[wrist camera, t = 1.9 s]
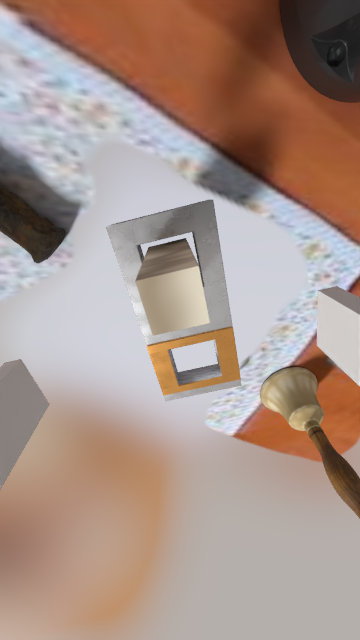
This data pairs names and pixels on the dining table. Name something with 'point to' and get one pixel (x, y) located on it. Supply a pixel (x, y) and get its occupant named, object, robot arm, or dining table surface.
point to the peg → (172, 288)
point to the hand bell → (310, 425)
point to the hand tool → (28, 227)
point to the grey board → (214, 285)
